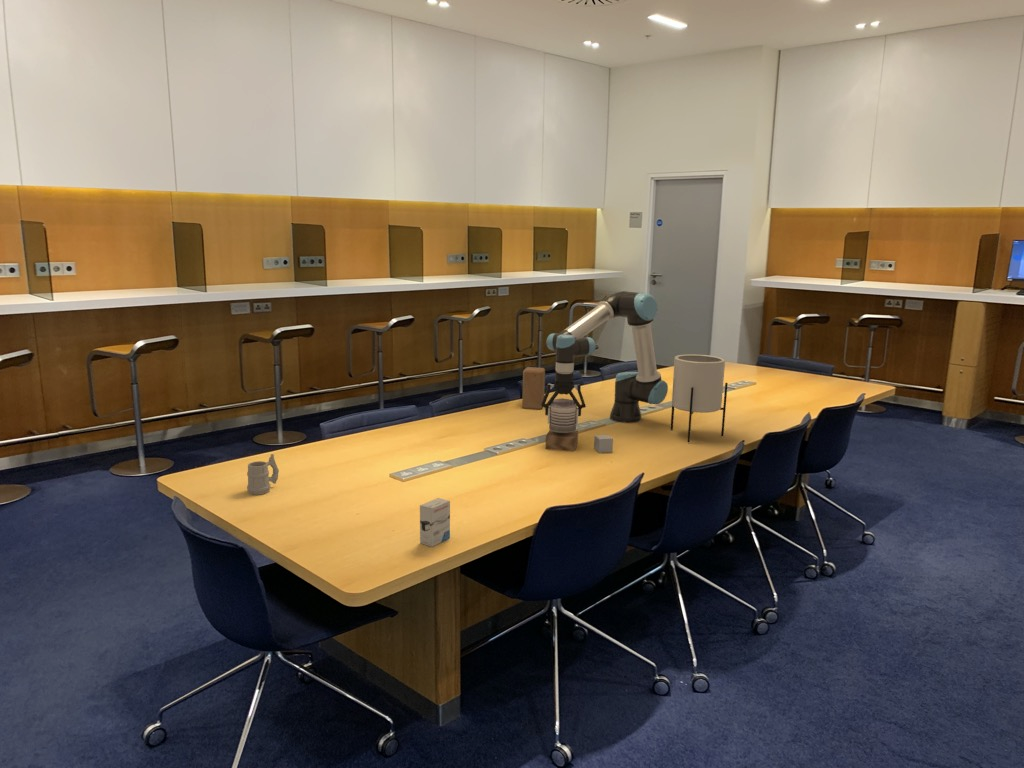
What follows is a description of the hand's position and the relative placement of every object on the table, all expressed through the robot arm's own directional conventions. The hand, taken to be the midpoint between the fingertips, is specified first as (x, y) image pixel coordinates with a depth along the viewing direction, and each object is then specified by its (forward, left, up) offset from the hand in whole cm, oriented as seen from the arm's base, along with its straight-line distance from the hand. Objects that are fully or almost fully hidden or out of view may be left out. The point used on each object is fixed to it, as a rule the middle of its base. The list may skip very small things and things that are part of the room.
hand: (562, 423), depth 321 cm
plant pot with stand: (-60, -21, -10) cm, 64 cm away
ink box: (+41, +103, -10) cm, 111 cm away
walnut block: (0, 0, -10) cm, 10 cm away
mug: (+105, +64, -10) cm, 124 cm away
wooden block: (+12, -70, -10) cm, 72 cm away
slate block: (-17, +5, -10) cm, 20 cm away
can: (0, 0, -3) cm, 3 cm away
